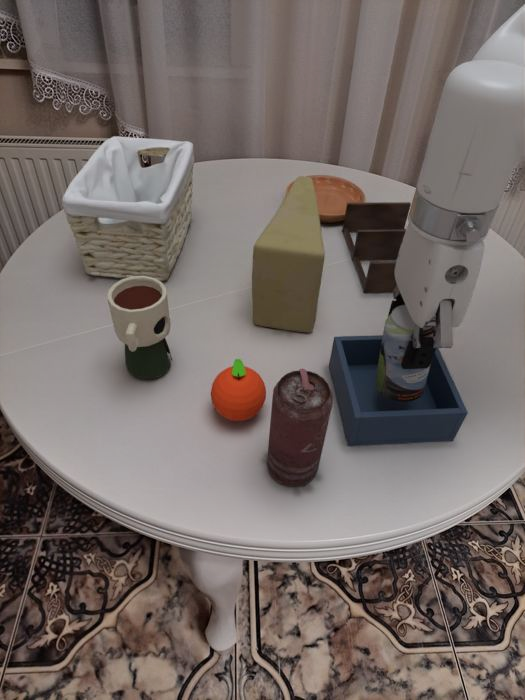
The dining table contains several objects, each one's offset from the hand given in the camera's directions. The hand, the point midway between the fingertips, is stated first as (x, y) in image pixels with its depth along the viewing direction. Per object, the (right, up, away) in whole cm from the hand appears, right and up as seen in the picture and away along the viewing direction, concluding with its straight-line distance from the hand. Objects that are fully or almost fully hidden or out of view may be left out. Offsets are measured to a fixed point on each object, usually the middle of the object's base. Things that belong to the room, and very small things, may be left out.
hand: (406, 344), depth 61 cm
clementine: (-20, -8, +6) cm, 23 cm away
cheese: (-13, +10, +24) cm, 29 cm away
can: (-14, -14, 0) cm, 20 cm away
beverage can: (0, -5, +5) cm, 7 cm away
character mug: (-33, -3, +10) cm, 35 cm away
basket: (-39, +18, +31) cm, 53 cm away
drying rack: (+5, +16, +31) cm, 35 cm away
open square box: (0, -8, +7) cm, 11 cm away
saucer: (-5, +29, +43) cm, 52 cm away
